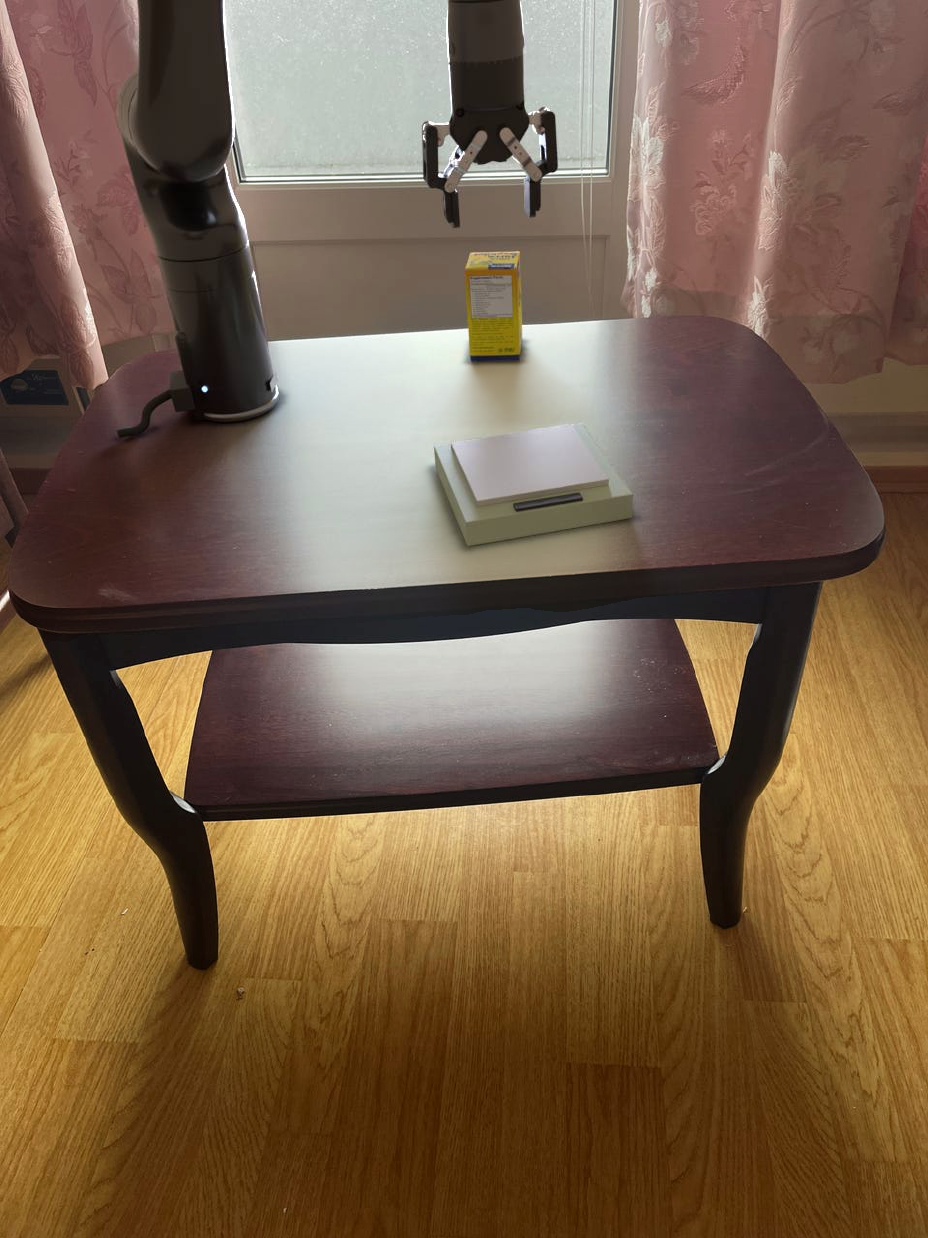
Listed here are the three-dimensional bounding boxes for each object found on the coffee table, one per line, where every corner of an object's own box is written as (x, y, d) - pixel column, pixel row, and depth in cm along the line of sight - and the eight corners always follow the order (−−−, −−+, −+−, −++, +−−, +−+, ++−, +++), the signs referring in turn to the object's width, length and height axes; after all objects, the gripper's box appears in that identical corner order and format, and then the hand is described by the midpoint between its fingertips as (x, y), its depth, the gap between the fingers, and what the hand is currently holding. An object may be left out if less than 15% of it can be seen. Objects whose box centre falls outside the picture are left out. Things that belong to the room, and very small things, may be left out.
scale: (467, 546, 82) (465, 516, 80) (435, 468, 93) (433, 440, 91) (631, 518, 84) (633, 488, 82) (582, 445, 95) (582, 417, 93)
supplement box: (522, 341, 116) (521, 249, 109) (520, 361, 111) (518, 267, 104) (474, 341, 116) (469, 250, 110) (469, 362, 112) (464, 268, 105)
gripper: (543, 38, 98) (545, 203, 108) (408, 53, 96) (422, 219, 106) (566, 49, 92) (565, 222, 102) (422, 64, 90) (436, 239, 101)
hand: (492, 220), depth 104 cm, fingers open, 8 cm apart
